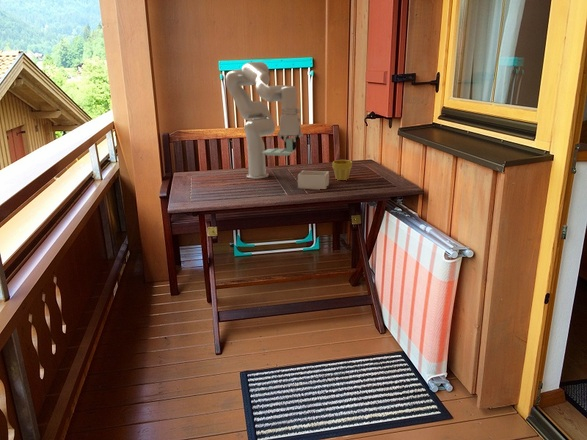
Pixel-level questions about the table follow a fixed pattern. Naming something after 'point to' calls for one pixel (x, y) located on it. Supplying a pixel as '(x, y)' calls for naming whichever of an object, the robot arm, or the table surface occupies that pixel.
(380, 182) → the table surface
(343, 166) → the plant pot
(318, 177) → the tub
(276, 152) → the lid
